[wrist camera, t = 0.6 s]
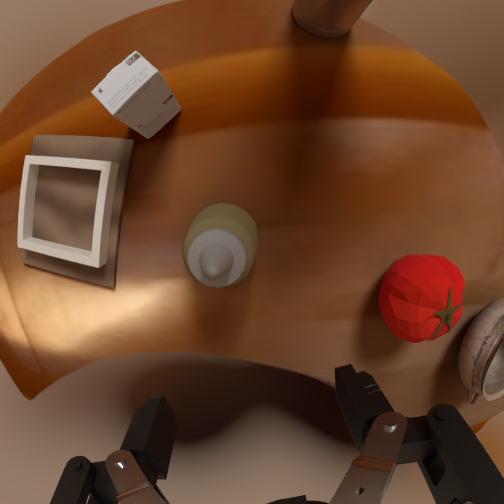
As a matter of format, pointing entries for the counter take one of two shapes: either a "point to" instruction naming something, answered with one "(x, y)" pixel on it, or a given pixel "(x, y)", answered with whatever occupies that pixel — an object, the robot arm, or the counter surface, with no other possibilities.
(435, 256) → the tomato
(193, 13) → the counter surface
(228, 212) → the squeeze bottle
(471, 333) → the cooking pot
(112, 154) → the board
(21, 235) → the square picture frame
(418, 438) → the robot arm
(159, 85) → the skincare box
